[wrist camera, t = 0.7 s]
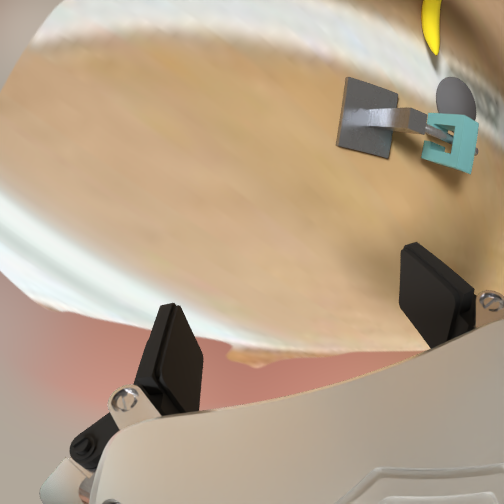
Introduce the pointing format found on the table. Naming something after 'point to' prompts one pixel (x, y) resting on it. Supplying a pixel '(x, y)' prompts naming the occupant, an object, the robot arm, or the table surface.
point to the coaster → (455, 98)
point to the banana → (431, 23)
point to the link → (461, 145)
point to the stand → (378, 119)
